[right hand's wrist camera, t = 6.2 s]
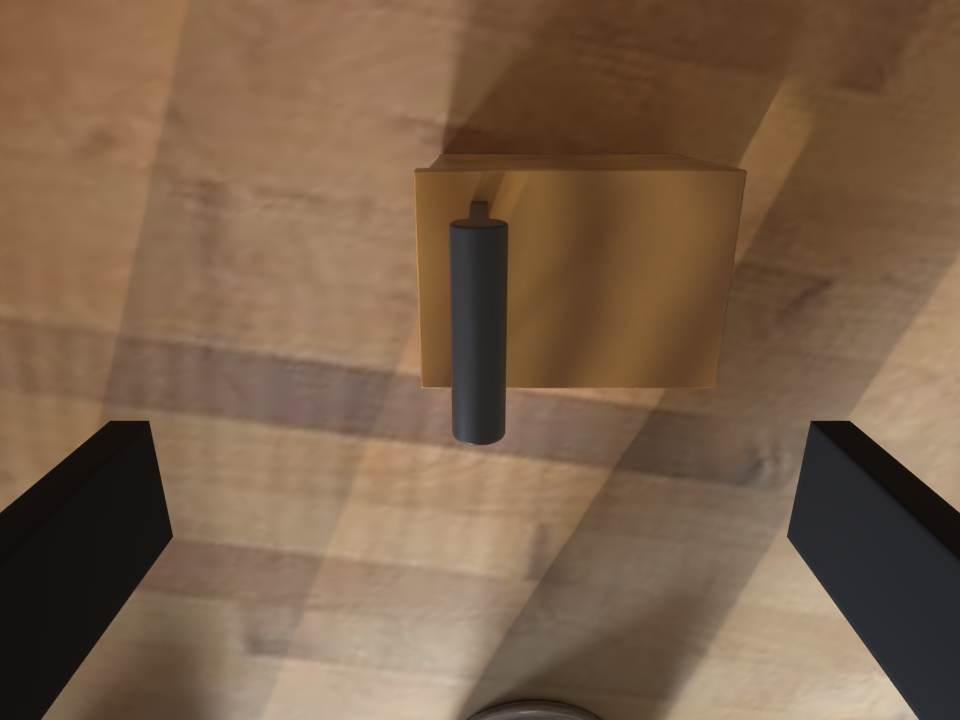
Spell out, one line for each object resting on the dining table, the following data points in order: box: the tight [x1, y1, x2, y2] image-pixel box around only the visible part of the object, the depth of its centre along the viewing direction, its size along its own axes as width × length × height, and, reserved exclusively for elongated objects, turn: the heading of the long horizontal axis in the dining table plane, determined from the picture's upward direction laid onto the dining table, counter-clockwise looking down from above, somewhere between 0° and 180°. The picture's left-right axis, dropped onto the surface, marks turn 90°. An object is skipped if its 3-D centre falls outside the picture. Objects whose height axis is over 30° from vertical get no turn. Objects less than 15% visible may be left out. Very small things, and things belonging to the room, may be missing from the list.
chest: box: [430, 154, 733, 168], centre depth 32 cm, size 13×10×9 cm
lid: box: [414, 168, 747, 445], centre depth 24 cm, size 13×10×8 cm
